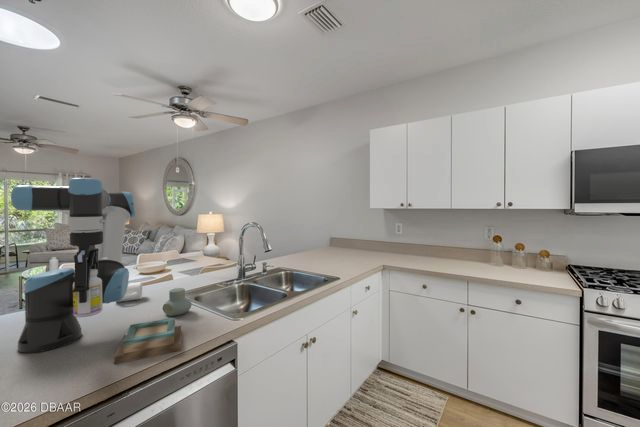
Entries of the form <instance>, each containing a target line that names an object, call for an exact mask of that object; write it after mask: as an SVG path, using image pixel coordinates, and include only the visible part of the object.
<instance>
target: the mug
mask: <svg viewBox="0 0 640 427" xmlns="http://www.w3.org/2000/svg"><path fill="white" fill-rule="evenodd" d="M142 297H143V283H142V282H132V283H128V287H127V291H126V294H125V296H124V297H123V298H122V299H121V300H120V301H116V302H115V303H122V302H129V301H136V300H142Z"/></svg>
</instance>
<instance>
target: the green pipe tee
mask: <svg viewBox="0 0 640 427" xmlns="http://www.w3.org/2000/svg"><path fill="white" fill-rule="evenodd" d="M192 306H193V305H192V301H191V300H190V299H189V298H187V297H186V289H185V288H183V287H176V288H173V289H170V290H169V291H168V300H167V301H165V303H164V304H163V305H162V311H163V313H164V314H166V315H167V316H169V317H170V316H171V317H176V316H181V315H184V314H185V313H187V312H189V311H190V310H191V308H192Z"/></svg>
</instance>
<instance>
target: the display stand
mask: <svg viewBox="0 0 640 427" xmlns="http://www.w3.org/2000/svg"><path fill="white" fill-rule="evenodd" d="M117 347H118V348H117V350H116V352H115V354H114V356H113V358H114V359H113V360H114V361H113V364H114V365H116V364H120V363H121V364H122V363H125V362H131V361H135V360H140V359H144V358H150V357H155V356H160V355H164V354H169V353H175V352H179V351H182V325H176V319H175V317H172V318H165V319H160V320H158V319H157V320H152V321H147V322H140V323H134V324H130V325H129V328H128V330H127V333H126V334H124V335H123V337H122V339H121V341H120V344H119V345H118V346H117Z"/></svg>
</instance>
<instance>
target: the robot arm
mask: <svg viewBox="0 0 640 427" xmlns="http://www.w3.org/2000/svg"><path fill="white" fill-rule="evenodd" d="M10 201H11V205H12V207H13V208H14V209H15V210H17V211H28V212H32V211H39V212H40V211H43V212H45V211H46V212H47V211H48V212H57V213H58V212H59V213H63V214H65V215H69V217H68V218H69V220H68V223H69V224H68V227H69V228H68V230H69V231H71V232H70V233H69V245H70V246H73V247H78V251H76V254H74V255H73V259H74V261H73V262H74V268H73V267H69V268H68V267H66V268H65V267H64V268H59V269H54V270H49V271H45V272H41V273H36V274H34V275H32V276H29V277H28V278H27V279H26V280H25V283H24V284H25V285H24V291H23V293H24V309H25V310H24V316H25V319H24V320H25V323H24V326H23V329H22V331H21V334H20V335H19V338H18V341H17V351H18V352H20V353H24V354H25V353H26V354H27V353H29V354H30V353H31V354H32V353H33V354H34V353H39V352H40V353H41V352H45V351H50V350H53V349H57V348H60V347H63V346H66V345H69V344H70V343H71V344H72V343H73V342H75V341H76V340H78V339H79V338H80V337H81V336H82V326H81V324H80V322H79V320H78V317H75V316H74V314H73V292H77V301H78V314H84V313H90V312H91V299H90V290H89V281H90V269H97V270H98V274H97V277H98V278H101V280H102V302H103V304H110V303H117V302H116V301H120V300H121V299H122V298H123V297H124V296H125V294H126V291H127V287H128V284H129V278H130V271H129V269H128V268H126V266H125V265H124V264H123V262H121V261H122V255H123V254H122V253H123V246H124V241H125V240H124V238H125V230H126V224H128V222H129V221H130V220H131V219H132V218H134V217H135V216H136V214H135V213H136V212H135V205H134V196H133V194H132V192H129V191H123V190H122V191H114V190H113V191H111V190H110V191H107V190H106V189H104V188H103V182H102V180H101V179H99V178H88V177H72V178H70V179H69V181H68V186H65V185H64V186H63V185H61V186H60V185H59V186H58V185H57V186H56V185H33V184H28V185H27V184H26V185H25V184H24V185H21V184H20V185H16V186H14V187H13V188H12V190H11V192H10ZM73 283H74V290H73Z"/></svg>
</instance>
